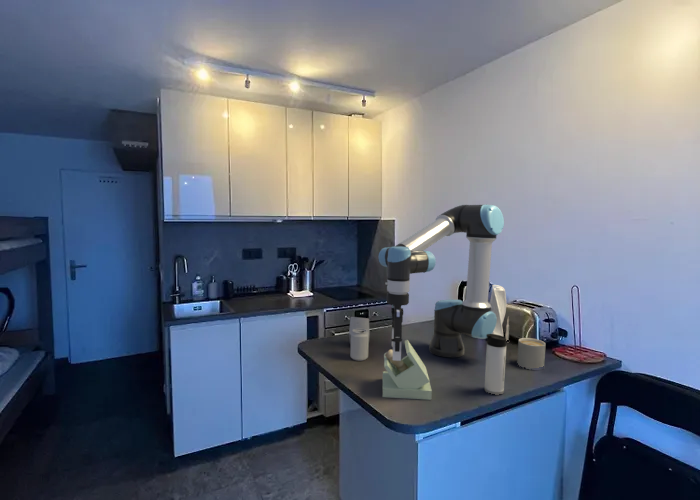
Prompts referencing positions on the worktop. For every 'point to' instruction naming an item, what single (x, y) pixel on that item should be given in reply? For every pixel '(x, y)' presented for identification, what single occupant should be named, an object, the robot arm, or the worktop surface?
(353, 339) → the can
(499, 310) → the skyscraper
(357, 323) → the smart speaker
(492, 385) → the travel mug
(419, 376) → the socket
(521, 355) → the coffee mug
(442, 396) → the worktop surface
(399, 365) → the dowel
